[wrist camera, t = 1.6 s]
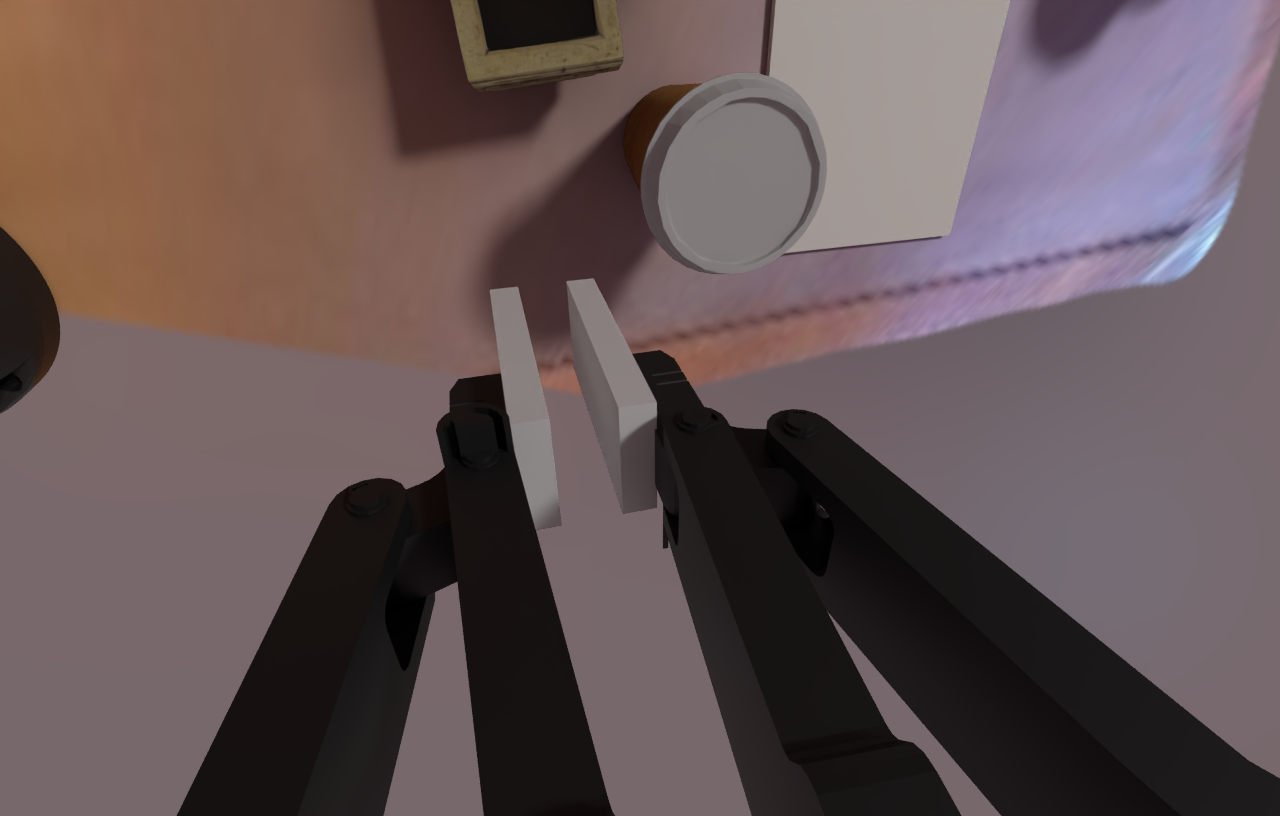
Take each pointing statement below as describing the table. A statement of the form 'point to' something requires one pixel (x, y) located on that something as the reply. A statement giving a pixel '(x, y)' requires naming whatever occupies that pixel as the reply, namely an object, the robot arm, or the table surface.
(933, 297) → the table surface
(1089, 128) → the table surface
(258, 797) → the robot arm
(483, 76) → the box
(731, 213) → the disposable coffee cup
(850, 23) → the felt mat
